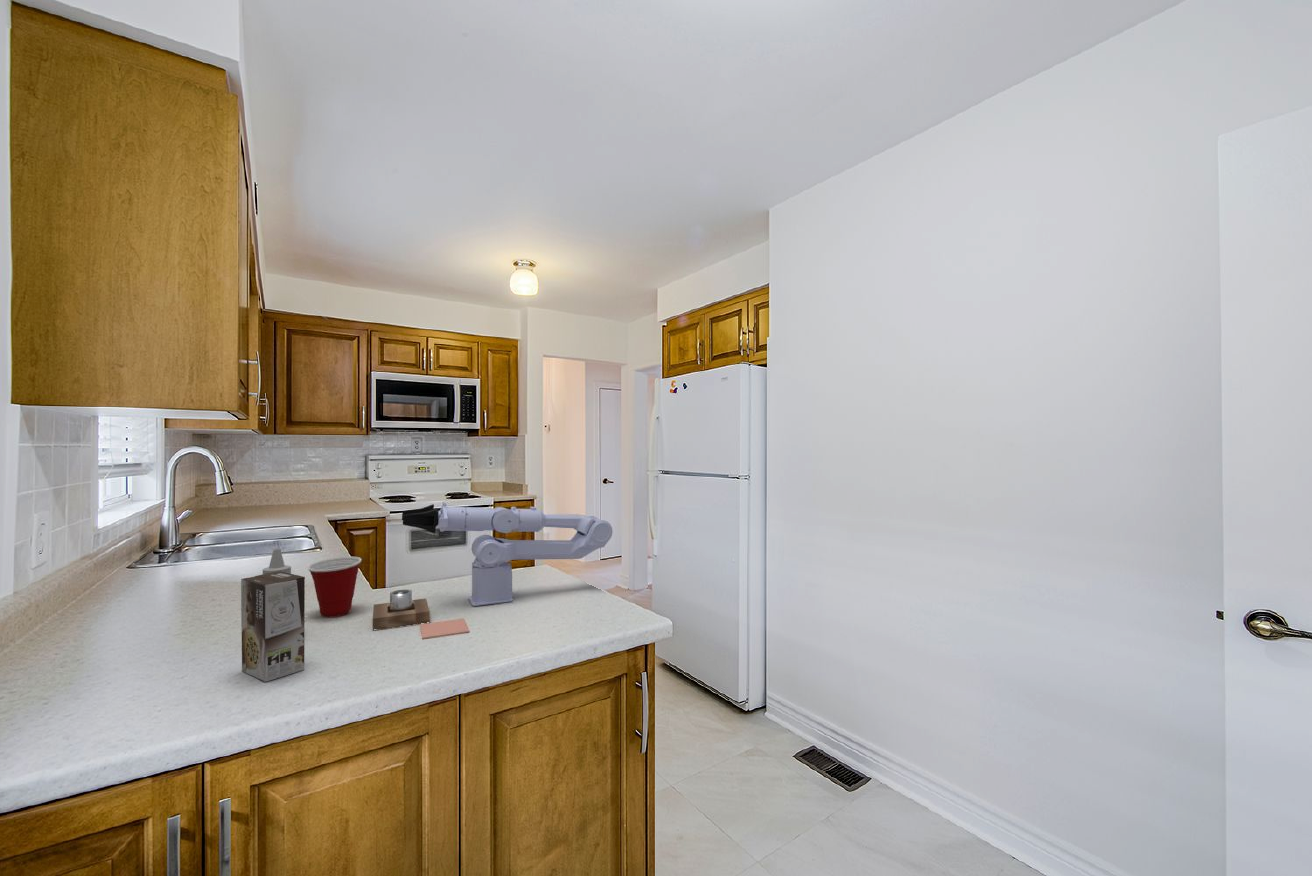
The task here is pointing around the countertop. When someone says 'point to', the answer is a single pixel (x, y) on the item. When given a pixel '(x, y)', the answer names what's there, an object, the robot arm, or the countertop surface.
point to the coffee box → (272, 625)
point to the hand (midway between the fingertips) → (402, 517)
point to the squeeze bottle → (277, 563)
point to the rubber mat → (443, 628)
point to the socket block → (400, 615)
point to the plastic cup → (335, 584)
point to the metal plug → (400, 600)
